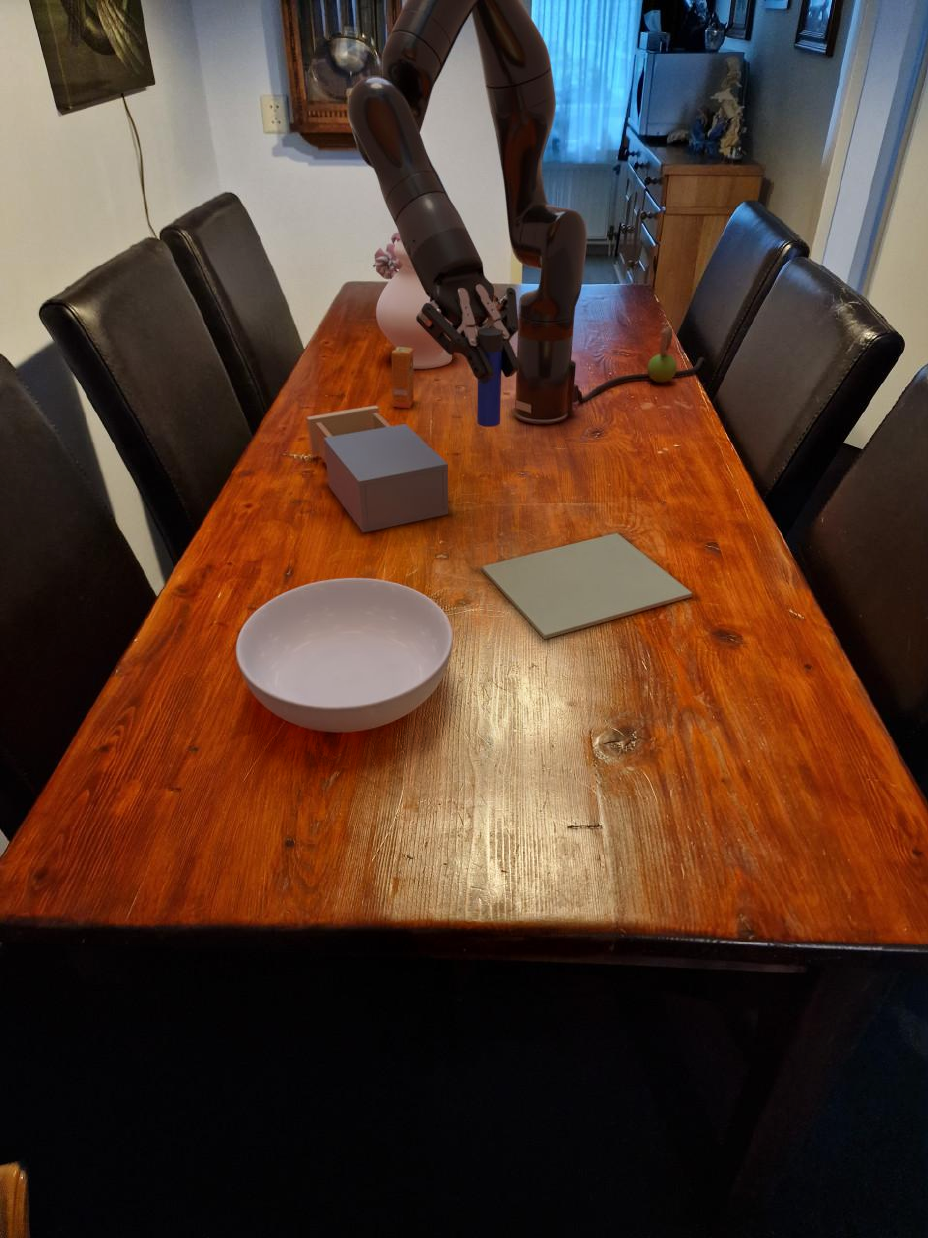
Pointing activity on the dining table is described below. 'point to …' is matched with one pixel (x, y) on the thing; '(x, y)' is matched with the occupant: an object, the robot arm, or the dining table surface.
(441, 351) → the decorative vase
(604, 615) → the mat
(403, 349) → the supplement box
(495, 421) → the flashlight
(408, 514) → the cabinet
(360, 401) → the dining table surface
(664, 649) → the dining table surface
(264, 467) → the dining table surface
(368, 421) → the drawer
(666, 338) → the green ball with stem
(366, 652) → the serving bowl
